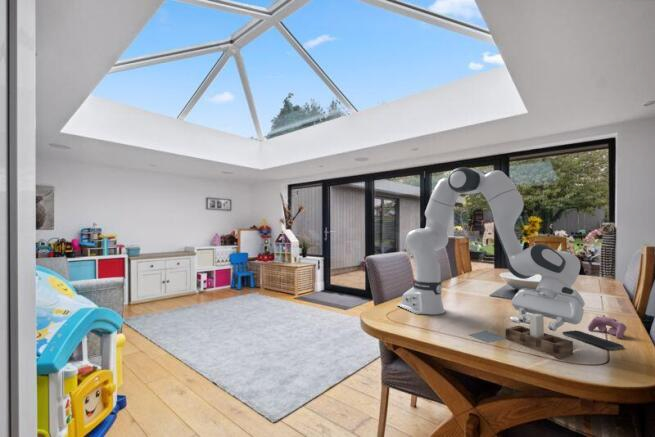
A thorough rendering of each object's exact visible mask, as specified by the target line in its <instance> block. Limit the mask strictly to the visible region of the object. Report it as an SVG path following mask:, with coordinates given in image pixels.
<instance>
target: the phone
mask: <svg viewBox="0 0 655 437" xmlns="http://www.w3.org/2000/svg"><path fill="white" fill-rule="evenodd" d="M561 334H562V335H563V336H565V337H567V338H571V339H574V340H576V341H579V342H582V343H584V344H588V345H589V346H593V347H595V348H598V349H601V350H605V351H615V349H617V350H621V349H620V348H623V349H624V345H623V344H620V343H617V342H614V341H612V340H608V339H605V338H602V337H599V336H596V335H593V334H590V333H588V332H583V331H580V330H567V331H562V333H561Z"/></svg>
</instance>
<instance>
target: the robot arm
mask: <svg viewBox="0 0 655 437" xmlns="http://www.w3.org/2000/svg"><path fill="white" fill-rule="evenodd" d="M512 181H513V180H511V179H510V177H509V176H508V175H506V174H505V172H504V171H502V170H491V171H489V172H485V171H483V170H481V169H477V168H474V167H466V166H461V167H457V168H454V169H453V170H451V172H450V173H449V175H448V176H447V177H443V178H441V179H439V180H438V181H437V183H436V184H435V187H434V188H433V190H432V193H431V194H430V197H429V200H428V203H427V206H426V207H425V208H426V209H425V211H424V216H425V218H426V223H425V227H424V228H415V229H413V230H410V231H408V233H407V234H406V237H405V245H406V246H407V248H408V249H409V250H410V252H411V253H412V254H411V255H412V256H413V259H414V263H415V279H414V280H412V281H411V284H412V287H411V288H409V289H408V290H407V291H405V292H404V293H403V294H402V297H401V301H400V302H398V303H397V304H396V306H397V305H398V306H400V307H402V308H405V309H407V310H406V311H408V310H409V311H408V312H410V311H411V313H413V314H415V313H416V315H441V314H444V313H445V308H444V303H443V298H442V290H443V289H442V287H443V286H442V281H441V264H440V262H439V261H438V259H437V258H436V254H435V251H440V250H441V249H444V248H445V247H446V246H447V245H448V243H449V235H448V225H449V221H450V218H451V216H452V213H453V210H454V207H455V205H456V203H457V200H458V198H459V197H460V196H461V195H479V194H482V195H483V196H484V198H485V200H486V202H487V204H488V206H489V208H490V211H491V214H492V216H493V218H492V219H493V225H494V229H495V232H496V235H497V238H498V240H499V244H501V247H502V249H503V252H504V256H505V261H506V267H507V270H508V271H509V272H510V273H511V275H513V276H515V277H516V278H519V279H524V280H526V279H529V278H531V277H533V276H536V275H539V276H541V279H540V281H539V283H538V284H537V286H536V288H530V287H523V288H519V290H518V291H517V292H516V294H515V295H514V296H513V297H512V299H511V301H510V303H511V305H512V307H513V308H514V310H517V311H518V313H519V316H518V317H517V318H518V320H519V321H520V323H524V322H525V321H526V318H525V316H524V314H526V313H529V314H531V315H532V314H541V315H543V318H549V319H551V320H556V321H554V322H549V325H548V327H547V328H548V329H549V331H552V332H556V331H557V329H558V328H559V327H561V326H564V324H565V323H568V324H573V325H578V324H581V322H582V320H583V316H584V313H585V312H584V307H585V305H586V303H585V300H584V299H583V297H582V295H581V294H580V292H578V290H576V289H574V288H572V286H573V285H574V284H575V283H576V281H577V279H578V277H579V274H580V270H581V261H580V259H579V258H578V257H577V255H575V254H573V253H571V252H569V251H566V250H563V251H562V250H561V251H560V250H556V249H553V248H552V247H550V246H549V245H546V244H545V243H544V244H543V243H538V244H534V245H531V246H530V247H527V248H525V249H523V248H522V247H521V245H520V242H519V239H518V237H517V235H516V231H515V225H516V222H517V220H518V218H519V216H520V215H521V214H522V212H523V210H524V204H525V203H524V199H523V197H522V194H520V192H519V191H518V190H519V189H518V188H517V187H516V186H515V184H514V183H513V182H512ZM400 307H399V308H400ZM402 308H401V309H402ZM405 309H404V310H405Z"/></svg>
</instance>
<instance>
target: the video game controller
mask: <svg viewBox="0 0 655 437" xmlns="http://www.w3.org/2000/svg"><path fill="white" fill-rule="evenodd" d="M607 326H608V327H609V329H608V328H607ZM596 328H598V331H600V332H601V333H606V332H607V331H608V332H609V334H610V335H612V336H615V337H616V339H618V338H619V339H621V338H622V337H623V336H624V334H625V332H626V331H627V326H626V324H624V323H623V322H621V321H620V320H617V319H615V318H613V317H608V316H598V315H597V316H596V317H593V318H592V320H591V321H590V322H589V324H588V326H587V330H588V331H590V332H591V331H594V330H595V329H596Z"/></svg>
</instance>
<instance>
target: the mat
mask: <svg viewBox="0 0 655 437" xmlns="http://www.w3.org/2000/svg"><path fill="white" fill-rule="evenodd" d="M468 336H469V337H471V338H475V339H477V340H480V341H482V342H484V343H487V344H490V343H493V342H496V341H500V340H505V339H506V336H502V335H500V334H497V333H494V332H492V331H489V330H482V331H479V332H475V333H471V334H468Z"/></svg>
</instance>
